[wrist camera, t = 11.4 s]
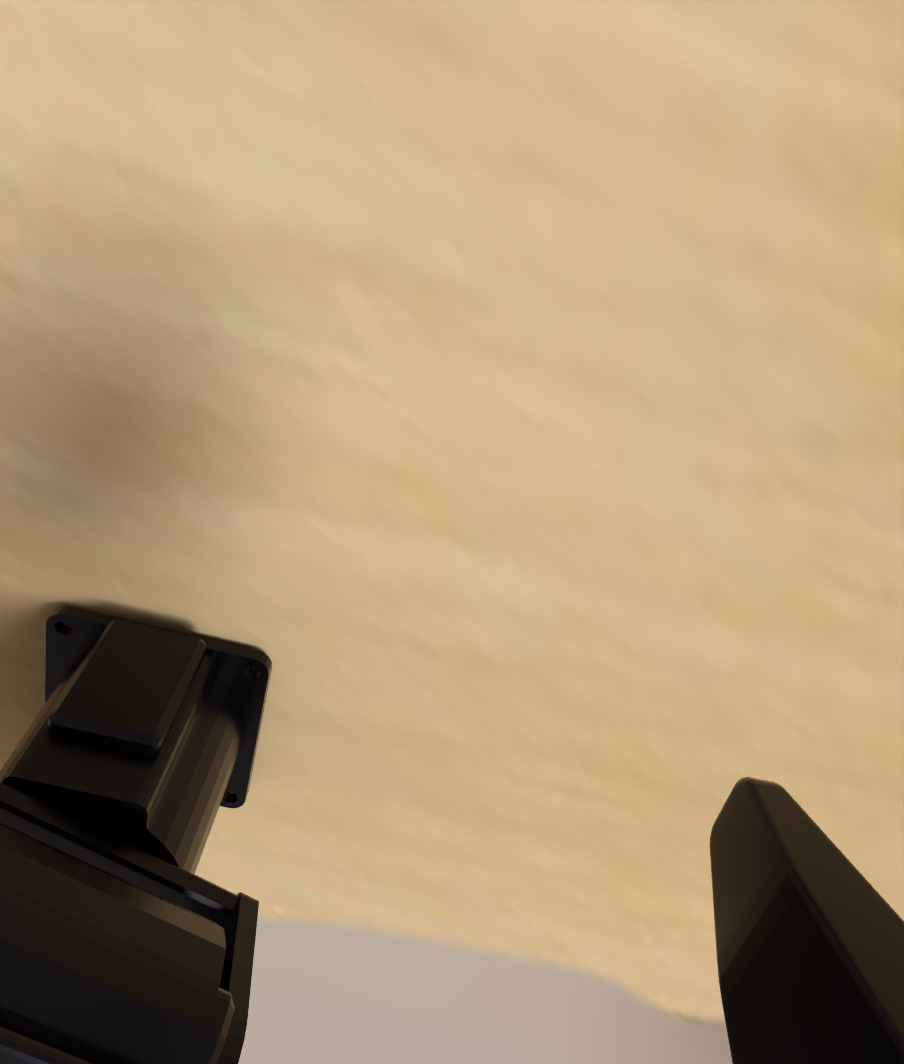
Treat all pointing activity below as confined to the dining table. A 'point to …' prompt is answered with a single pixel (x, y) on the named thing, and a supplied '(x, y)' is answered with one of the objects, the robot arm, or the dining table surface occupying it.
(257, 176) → the dining table surface
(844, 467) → the dining table surface
